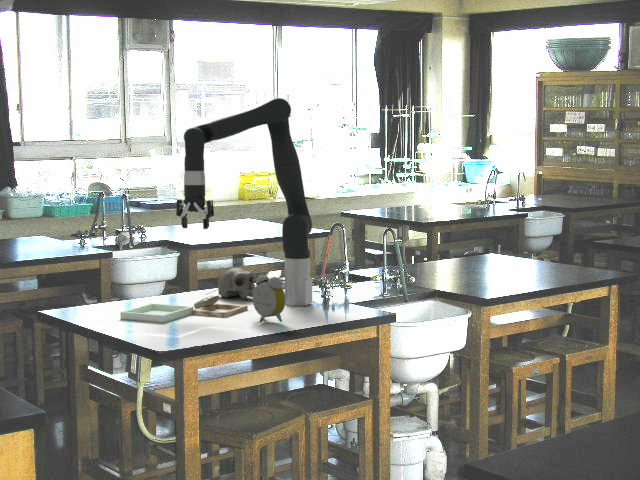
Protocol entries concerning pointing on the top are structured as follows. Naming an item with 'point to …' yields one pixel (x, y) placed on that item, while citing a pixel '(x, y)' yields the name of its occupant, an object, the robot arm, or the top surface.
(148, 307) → the tray
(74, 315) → the top surface
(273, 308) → the alarm clock
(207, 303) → the cuneiform tablet
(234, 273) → the skull
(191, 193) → the robot arm
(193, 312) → the frame
